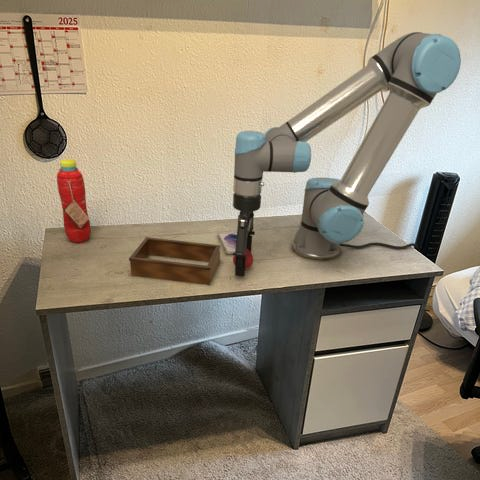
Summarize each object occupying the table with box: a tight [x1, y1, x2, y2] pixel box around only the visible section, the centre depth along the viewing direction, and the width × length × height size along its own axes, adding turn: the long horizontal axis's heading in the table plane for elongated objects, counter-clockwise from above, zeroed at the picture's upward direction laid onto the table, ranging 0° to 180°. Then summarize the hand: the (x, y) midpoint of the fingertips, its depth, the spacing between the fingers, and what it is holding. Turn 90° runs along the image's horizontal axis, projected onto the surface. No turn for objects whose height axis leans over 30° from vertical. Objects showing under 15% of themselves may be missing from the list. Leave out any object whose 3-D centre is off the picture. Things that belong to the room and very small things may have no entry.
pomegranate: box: [232, 248, 254, 271], centre depth 137 cm, size 6×6×8 cm
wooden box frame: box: [128, 236, 222, 286], centre depth 136 cm, size 23×15×6 cm, turn 81°
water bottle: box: [56, 158, 92, 244], centre depth 143 cm, size 12×8×25 cm, turn 14°
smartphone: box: [217, 232, 237, 255], centre depth 153 cm, size 7×1×15 cm
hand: (243, 265), depth 138 cm, fingers open, 12 cm apart
